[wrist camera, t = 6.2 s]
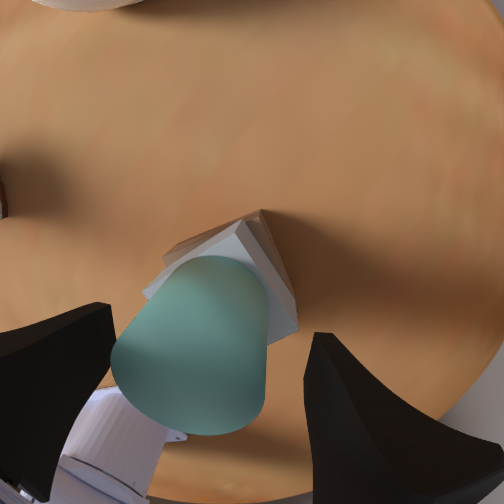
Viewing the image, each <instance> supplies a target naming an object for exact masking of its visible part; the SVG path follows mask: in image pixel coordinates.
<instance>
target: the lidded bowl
mask: <svg viewBox="0 0 504 504" xmlns="http://www.w3.org/2000/svg"><path fill="white" fill-rule="evenodd" d="M32 1H35V2H37V3H39V4H42V5H45V6H49V7H52V8H55V9H59V10H63V11H69V12H81V13H90V12H100V11H107V10H112V9H116V8H119V7H122V6H126V5H132V4H136V3H139V2H142V1H145V0H32Z"/></svg>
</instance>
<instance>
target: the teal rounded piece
mask: <svg viewBox="0 0 504 504" xmlns="http://www.w3.org/2000/svg"><path fill="white" fill-rule="evenodd" d="M267 333H268V299H267V295H266V292H265V289H264V287H263V285H262V284H261V282H260V281H259V279H258V278H257V277H256V276H255V274H254V273H253V272H251V271H250V270H249V269H248V268H247V267H245V266H244V265H242V264H240V263H239V262H237V261H235V260H232V259H229V258H226V257H222V256H215V255H206V256H199V257H195V258H192V259H190V260H187V261H185V262H184V263H182V264H181V265H179V266H178V267H177V268H176V269H175V270H174V271H173V272H172V273H171V275H170V276H169V277H168V278H167V279H166V281H165V282H164V283H163V284H162V285H161V286H160V288H159V289H158V290H157V291H156V292H155V294H154V295H153V296H152V297H151V298H150V300H149V301H148V302H147V303H146V305H145V306H144V307H143V308H142V309H141V311H140V312H139V313H138V314H137V316H136V317H135V318H134V319H133V321H132V322H131V323H130V324H129V326H128V327H127V328H126V329H125V331H124V332H123V333H122V334H121V336H120V337H119V338H118V339H117V341H116V342H115V344H114V346H113V349H112V352H111V359H110V363H111V370H112V374H113V377H114V380H115V382H116V384H117V386H118V388H119V389H120V391H121V392H122V394H123V395H124V396H125V398H126V399H127V400H128V401H129V402H130V403H131V404H132V405H133V406H134V407H135V408H136V409H137V410H139V411H140V412H141V413H142V414H144V415H145V416H147V417H148V418H150V419H152V420H153V421H155V422H157V423H159V424H161V425H163V426H165V427H168V428H170V429H173V430H176V431H180V432H184V433H188V434H195V435H221V434H226V433H230V432H234V431H236V430H239V429H241V428H243V427H245V426H247V425H248V424H249V423H251V422H252V421H253V420H254V419H255V418H256V417H257V416H258V414H259V413H260V412H261V409H262V407H263V404H264V400H265V382H266V359H267Z"/></svg>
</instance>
